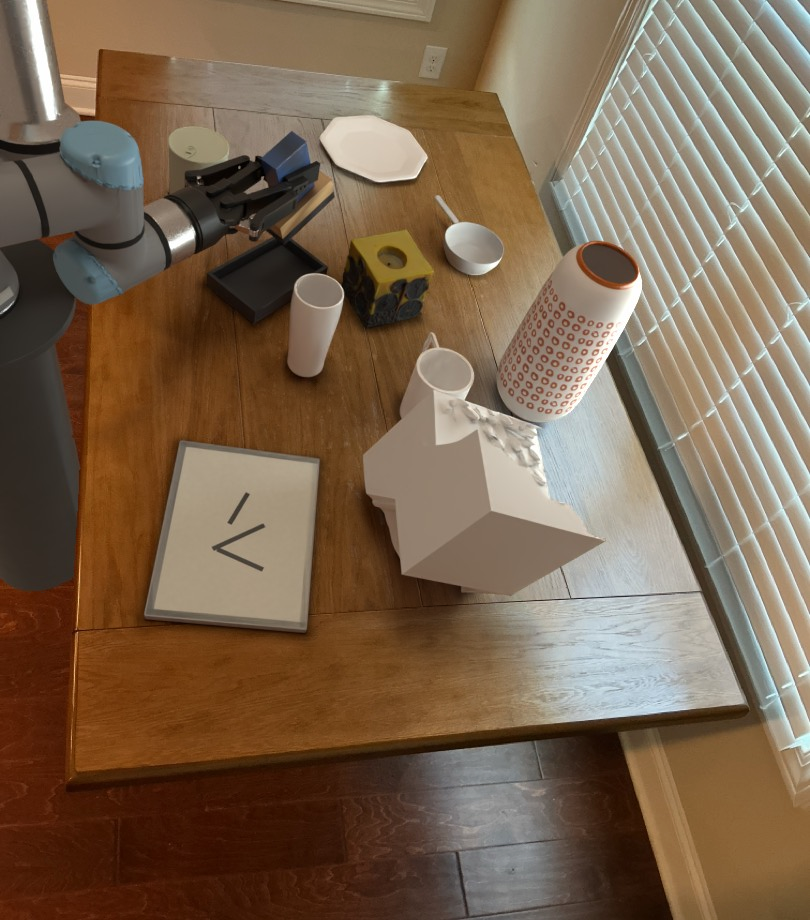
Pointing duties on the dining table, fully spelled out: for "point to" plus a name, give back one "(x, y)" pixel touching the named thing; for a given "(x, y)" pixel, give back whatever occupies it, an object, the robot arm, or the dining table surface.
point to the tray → (263, 277)
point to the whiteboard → (236, 539)
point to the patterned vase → (568, 331)
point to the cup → (437, 375)
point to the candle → (386, 278)
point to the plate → (373, 148)
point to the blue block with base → (309, 203)
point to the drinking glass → (313, 322)
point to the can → (194, 152)
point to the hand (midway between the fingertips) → (307, 163)
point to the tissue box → (471, 498)
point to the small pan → (470, 245)
